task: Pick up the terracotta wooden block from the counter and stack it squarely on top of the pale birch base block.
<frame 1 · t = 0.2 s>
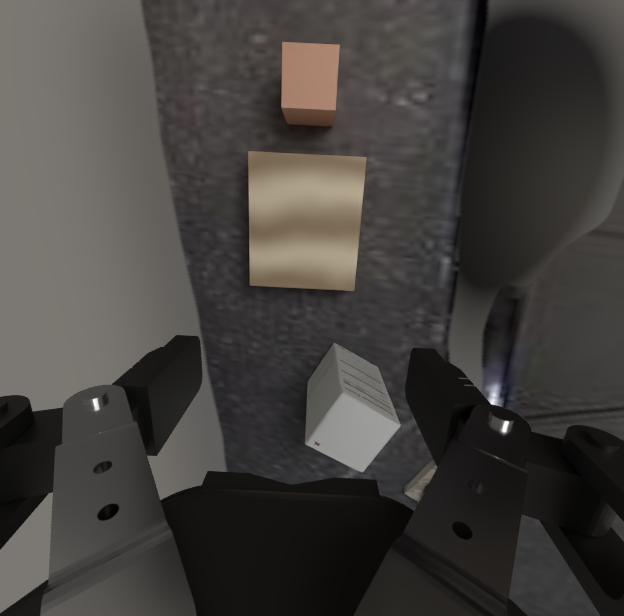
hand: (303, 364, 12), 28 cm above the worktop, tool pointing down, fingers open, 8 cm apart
packaged product: (463, 464, 49), on the worktop
birch base: (305, 223, 38), on the worktop
supplement box: (342, 373, 44), on the worktop
terracotta block: (311, 99, 34), on the worktop
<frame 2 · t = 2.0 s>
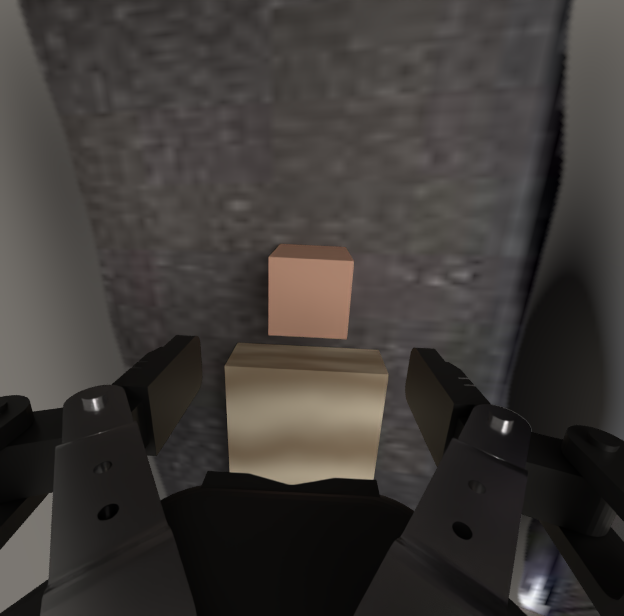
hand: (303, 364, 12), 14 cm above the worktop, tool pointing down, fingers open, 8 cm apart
birch base: (304, 414, 29), on the worktop
terracotta block: (311, 277, 25), on the worktop
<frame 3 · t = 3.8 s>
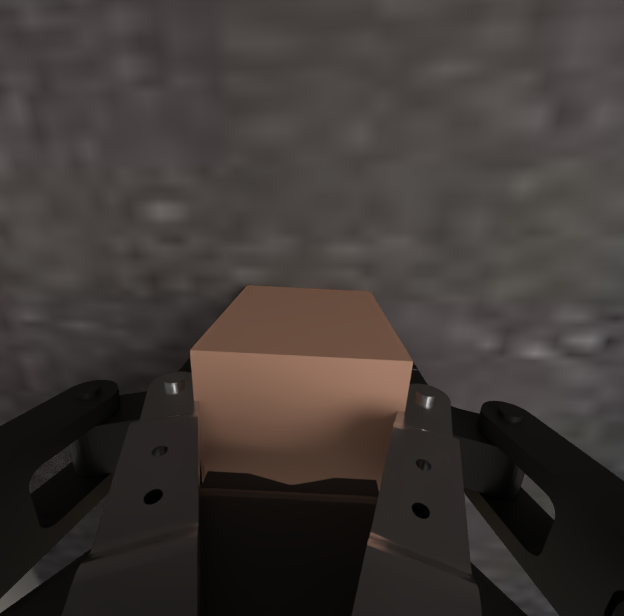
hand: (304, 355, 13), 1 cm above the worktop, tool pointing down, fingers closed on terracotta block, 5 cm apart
terracotta block: (306, 344, 13), on the worktop, touching gripper
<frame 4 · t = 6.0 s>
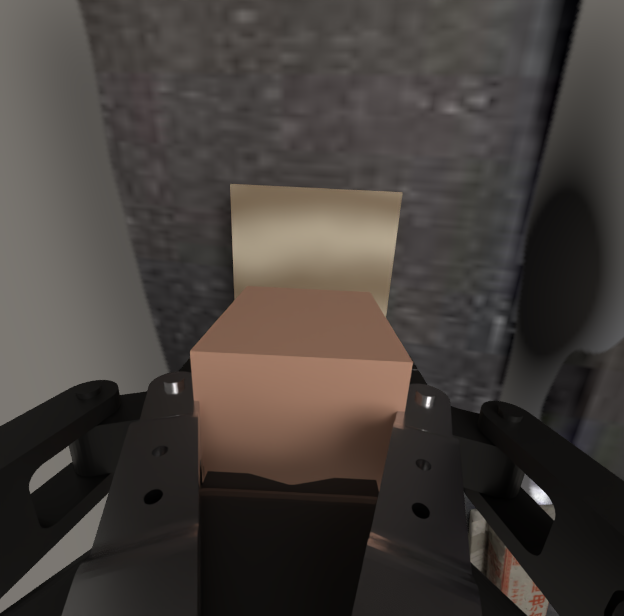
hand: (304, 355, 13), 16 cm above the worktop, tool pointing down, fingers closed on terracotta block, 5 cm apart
packaged product: (501, 552, 40), on the worktop
birch base: (312, 273, 28), on the worktop
terracotta block: (306, 345, 13), point 15 cm above the worktop, touching gripper
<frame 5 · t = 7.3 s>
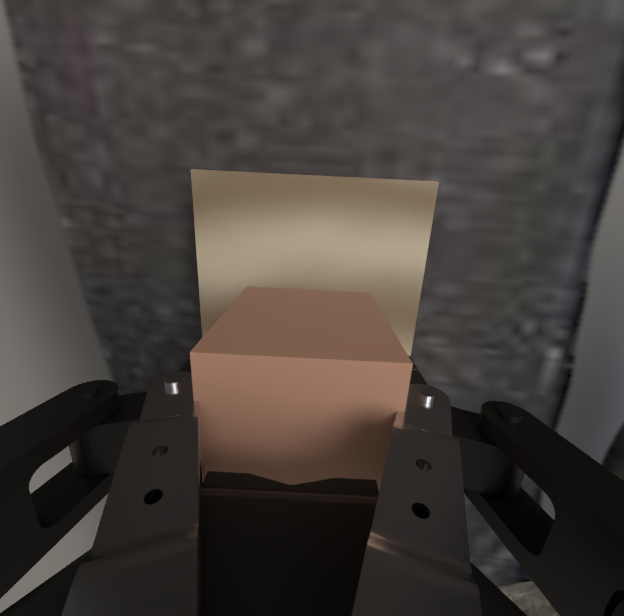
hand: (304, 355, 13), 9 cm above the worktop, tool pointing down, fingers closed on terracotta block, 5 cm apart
birch base: (310, 292, 21), on the worktop
terracotta block: (306, 345, 13), point 8 cm above the worktop, touching gripper
when the fingers open (6 cm above the worktop, at t = 8.3 s): terracotta block drops 1 cm, resting on birch base.
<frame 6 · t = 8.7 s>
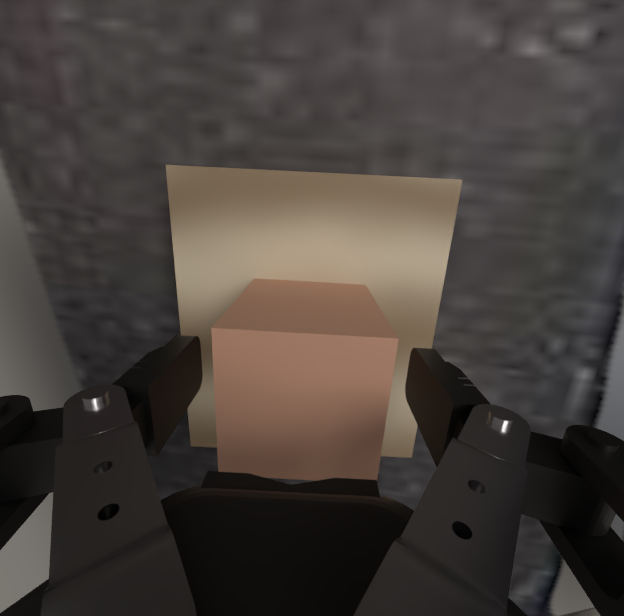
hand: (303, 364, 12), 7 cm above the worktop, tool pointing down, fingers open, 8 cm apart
birch base: (308, 306, 19), on the worktop
terracotta block: (307, 333, 15), point 4 cm above the worktop, touching birch base
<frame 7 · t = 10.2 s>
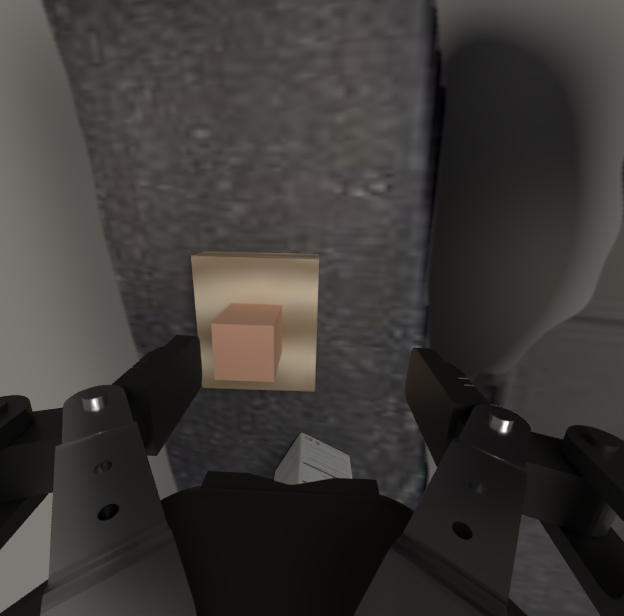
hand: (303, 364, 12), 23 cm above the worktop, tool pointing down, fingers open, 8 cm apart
birch base: (263, 315, 35), on the worktop
supplement box: (312, 461, 41), on the worktop
terracotta block: (257, 328, 31), point 4 cm above the worktop, touching birch base
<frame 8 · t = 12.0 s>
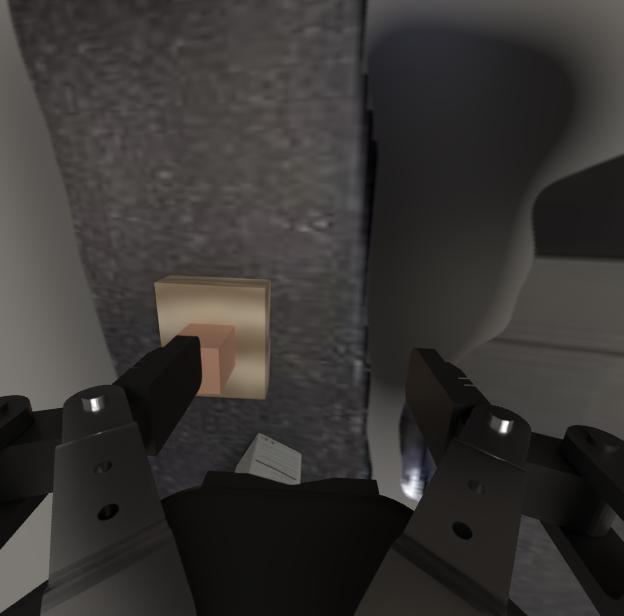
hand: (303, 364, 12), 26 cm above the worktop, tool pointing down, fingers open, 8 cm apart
birch base: (222, 331, 40), on the worktop
supplement box: (269, 458, 46), on the worktop
terracotta block: (213, 344, 36), point 4 cm above the worktop, touching birch base
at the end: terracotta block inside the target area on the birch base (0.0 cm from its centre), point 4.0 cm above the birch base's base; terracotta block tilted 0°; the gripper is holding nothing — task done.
